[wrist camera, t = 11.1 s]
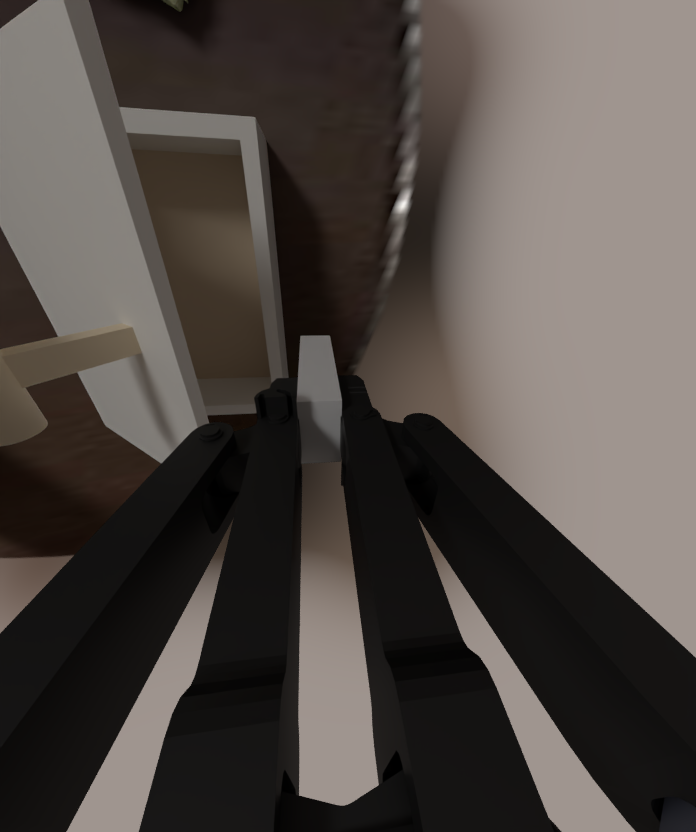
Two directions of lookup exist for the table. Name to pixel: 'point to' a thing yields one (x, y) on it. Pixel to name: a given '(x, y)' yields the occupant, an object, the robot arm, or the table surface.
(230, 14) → the table surface
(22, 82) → the lid
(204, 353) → the box
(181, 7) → the washcloth
